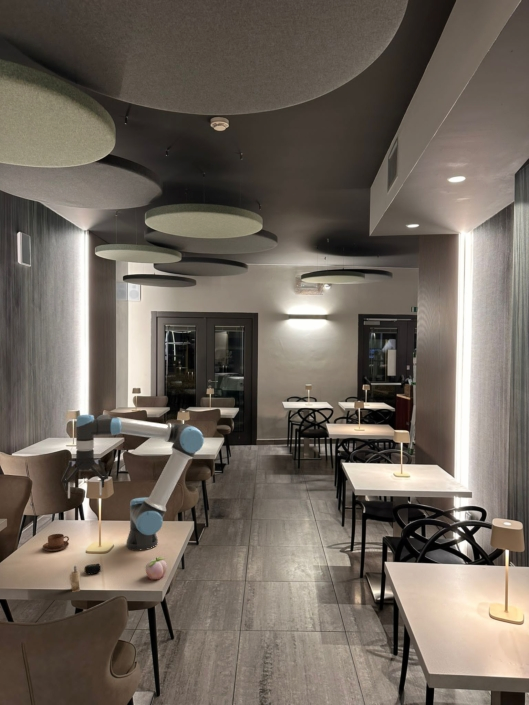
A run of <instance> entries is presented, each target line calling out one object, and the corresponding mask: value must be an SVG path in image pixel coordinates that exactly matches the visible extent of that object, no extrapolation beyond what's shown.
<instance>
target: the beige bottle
mask: <svg viewBox="0 0 529 705" xmlns="http://www.w3.org/2000/svg"><path fill="white" fill-rule="evenodd" d="M77 568H78V565H74V566H73V571H72V572H71V574H70V575H71V576H70V583H71V591H72V590H77V589H79V586H80V571H79V570H77Z"/></svg>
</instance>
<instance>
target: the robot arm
mask: <svg viewBox="0 0 529 705" xmlns="http://www.w3.org/2000/svg"><path fill="white" fill-rule="evenodd" d="M75 427H76V428H75V430H76V431H75V433H76V434H75V435H76V439H75V441H76V443H75V444H76V445H75V446H76V448H75V449H76V451H75V454H76V455H75V456H76V458H75V461H73V460H69V461H68V465H67V467H66V470H65V472H64V473H63V475H62V477H61V480H60V482H61V484H62V483H63V484H64V486H65V487H64V489H65V491H67V499H71V482H70V481H72V479H73V478H74V477H75V476H76V474H77V473H78V472H79V471H90V470H91V471H92V472H93V473H94V474H95V475H96V476H97V477H98V478H99V496H102V494H103V493H102V490H103V488H105V481H106V480H108V479H109V476H108V474H107V472H106V470H105V468H104V466H103V464H102V461H101V459H100V458H98V459H95V458H94V457H95V455H94V452H95V451H94V448H95V438H94V437H96V436H97V437H98V436H115V435H120V434H124V435H129V436H137V437H144V438H150V439H151V438H152V439H158V440H163V441H165V442H166V443H171V444H172V446H171V452H172V453H171V454H170V456H169V458H168V460H167V461H166V462H167V463H166V464H165V466H164V468H163V470H162V472H161V474H160V476H159V478H158V480H157V482H156V484H155V485H154V487H153V489H152V491H151V493H150V495H149V497H136V498H133V499H131V500H130V504H129V508H130V509H129V511H130V512H129V513H130V514H129V515H130V516H129V518H130V519H129V524H130V525H129V526H130V527H129V528H130V529H129V531H128V532H129V533H128V536H127V539H126V548H127V549H129V550H132V549H133V551H141V550H140V549H146V550H148V549H147V548H151V547H153V546H155V545H157V546H158V544H159V542H158V541H159V539H158V536H157V533H158V532H159V531H160V530H161V528H162V526H163V523H164V522H163V521H164V519H163V518H164V516H165V515H166V514H165V513H166V512H167V508H166V505H167V503H168V501H169V499H170V497H171V495H172V493H173V491H174V489H175V487H176V485H177V483H178V481H179V480H180V478H181V475H182V474H183V472H184V469H185V468H186V465H187V464H188V461H189V460H191V459H194V457H195V455H196V453H197V452H198V451H200V450H201V449H202V448H203V445H204V442H205V441H204V439H205V438H204V434H203V433H202V431H201V430H200V429H199V428H197V427H195V426H193V425H191V424H189V423H174V422H168V423H159V422H153V421H146V420H139V419H132V418H127V417H126V418H125V417H119V416H118V417H117V416H113V415H108V414H101V415H99V416H97V418H95V416H94V415H93V414H80V415H78V416H77V417H76V424H75ZM94 464H96V465H98V467H99V469H100V471H101V472H102V474H103V475H102V474H101V473H100V472H99V470H97V469H96V468H95V466H94ZM74 465H75V466H76V467H75V468H74V469H73V471H72V473H71V474H69V473H70V471H71V469H72V467H74ZM68 474H69V476H68ZM67 476H68V477H67ZM157 543H158V544H157ZM155 547H156V546H155ZM153 548H154V547H153ZM151 549H152V548H151Z"/></svg>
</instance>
